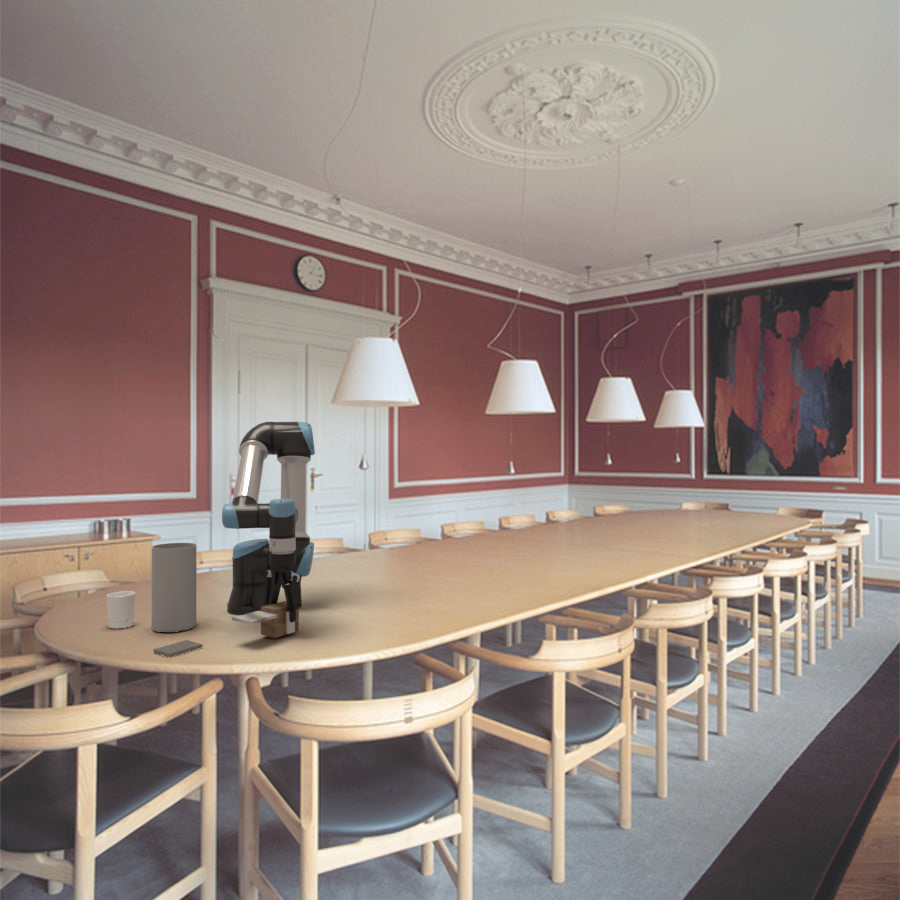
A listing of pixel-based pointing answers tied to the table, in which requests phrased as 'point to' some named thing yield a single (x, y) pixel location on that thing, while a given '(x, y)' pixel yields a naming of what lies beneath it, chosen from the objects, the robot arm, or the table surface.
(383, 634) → the table surface
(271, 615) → the wood block with tab
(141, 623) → the table surface
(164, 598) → the cylinder vase
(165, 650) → the tile
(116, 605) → the white cup
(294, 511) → the robot arm
